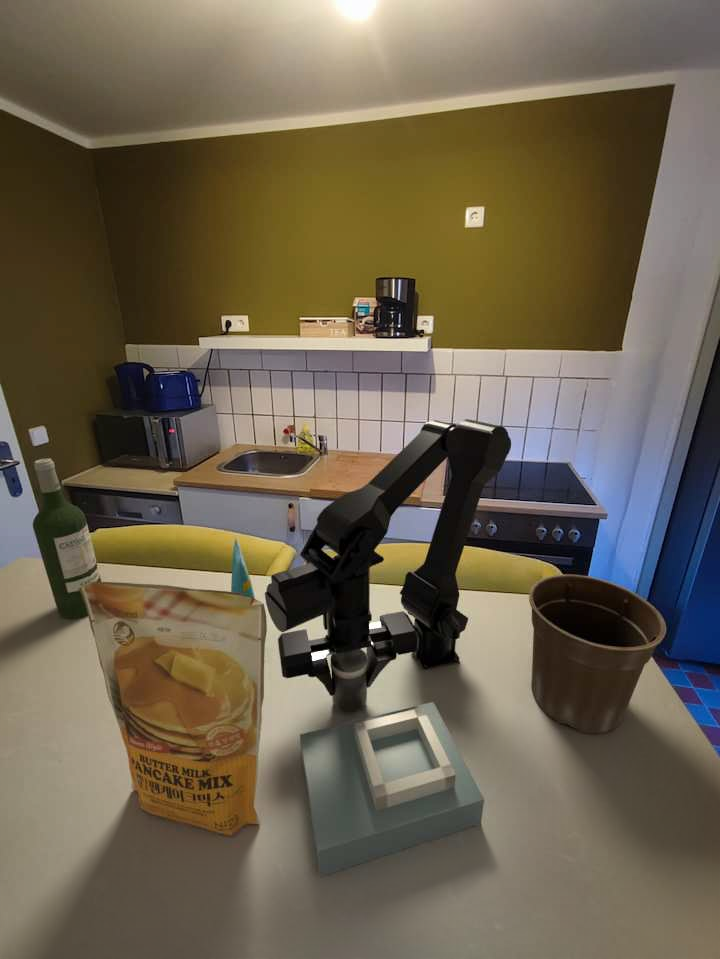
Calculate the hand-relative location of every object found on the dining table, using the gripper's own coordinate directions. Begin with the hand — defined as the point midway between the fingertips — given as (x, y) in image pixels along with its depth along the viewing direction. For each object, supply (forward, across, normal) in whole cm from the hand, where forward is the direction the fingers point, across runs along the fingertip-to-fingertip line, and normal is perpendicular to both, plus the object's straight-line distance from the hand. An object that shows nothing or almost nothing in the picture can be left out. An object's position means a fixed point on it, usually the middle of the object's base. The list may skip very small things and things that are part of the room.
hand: (349, 689), depth 61 cm
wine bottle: (+3, +45, -36) cm, 58 cm away
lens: (+2, 0, 0) cm, 2 cm away
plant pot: (+3, -32, +8) cm, 33 cm away
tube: (+3, +14, -16) cm, 21 cm away
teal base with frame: (+2, -1, +13) cm, 13 cm away
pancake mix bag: (+3, +20, +8) cm, 22 cm away
